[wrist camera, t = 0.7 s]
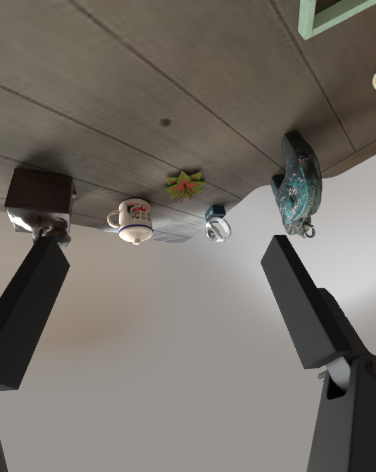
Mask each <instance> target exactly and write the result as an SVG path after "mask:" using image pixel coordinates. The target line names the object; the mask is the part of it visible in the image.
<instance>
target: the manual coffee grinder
mask: <svg viewBox="0 0 376 472" xmlns="http://www.w3.org/2000/svg"><path fill="white" fill-rule="evenodd" d="M74 198H76V191H75V190H74V182H73V179H72V178H70V177H66V176H63V175H59V174H54V173H48V172H43V171H37V170H31V169H21V168H15V169H14V174H13V177H12V180H11V183H10V186H9V190H8V194H7V197H6V201H5V206H4V207H5V209H6V211H7V213H8V215H9V217H10V220H11V222H12V224H13V226H14V228H15V230H16V232H28V233H32V238H33V245H34V244H35V242H36V241H37V239H38V237H39V236H42V234H45V236H54V238H55V240H56V241H57V243H58V245H59V247H60V248H62V247H66V246H67V245H68V243H69V242H70V240H71V238H70V236H69V231H70V222H71V215H72V205H73V200H74Z"/></svg>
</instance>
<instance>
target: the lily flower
mask: <svg viewBox="0 0 376 472" xmlns="http://www.w3.org/2000/svg"><path fill="white" fill-rule="evenodd" d="M201 173H202V172H199V173H197V174H194V175H190V176H187V175H186V174H185V173H184V172H183V171H182V172H181V174H180V176H179V178H165V179H166V181H167V183H168V184H169V185H170V187H169V188H166V189H163V190H165V191H167V192H169V193H171V195H170V197H171V198H174V197H175V198H177V197H179V196H180V197H181V198H183V199H184V198H186V199H187V198H188V197H189V198H190V196H191V195H192V194H193V195H195V194H199V193H200V194H202V193H201V189H200V188H201V187H202V186H203V185H204V184H205V183H207V182H198V181H199V180H200V178H201ZM191 197H193V196H191ZM171 198H170V199H171ZM179 199H180V198H179ZM179 199H178V200H179ZM190 199H191V198H190ZM181 203H182V202H181Z"/></svg>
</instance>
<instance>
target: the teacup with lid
mask: <svg viewBox="0 0 376 472" xmlns="http://www.w3.org/2000/svg"><path fill="white" fill-rule="evenodd" d="M113 214H119V221H120V224H115V223H113V222H112V221H111V216H112V215H113ZM107 220H108V223H109V224H110V225H111V226H112V227H116V228H120V231H119V235H120V237H121V238H122V239H123V240H126V241H130V242H133V244H134V245H139V244H140V243H141V241H145V240H147V239H149V238H151V237H152V235H153V229H152V220H151V209H150V205H149V203H148V202H146V201H145V200H142V199H128V200H125V201H123V202H122V203H121V204H120V206H119V210H114V211H112V212H110V214H109V215H108V219H107Z"/></svg>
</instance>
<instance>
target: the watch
mask: <svg viewBox="0 0 376 472" xmlns="http://www.w3.org/2000/svg"><path fill="white" fill-rule="evenodd" d="M225 215H226V213H225V209H224V206H214V205H212V206H211V207H210V209H209V210H208V211H207V213H206V214H205V216H206V221H207V222H208V223H207V225H206V234H207V235H208V237H209V238H210V239H211V240H213V241H216V242H223V241H225V240H226V239H228V238H229V236H230V235H231V227H230V226H229V224H228V223H227V221H226V220H225V219H222V218H223V217H224V216H225ZM218 222H220V224H221V225H222V226H223V227H224V229H225V231H226V232H227V234H228V235H227V238H222V236H221V235H220V233H219V230H218V229H217V228H216V227H214V226H213V225H212V224H211V223H218Z"/></svg>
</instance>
